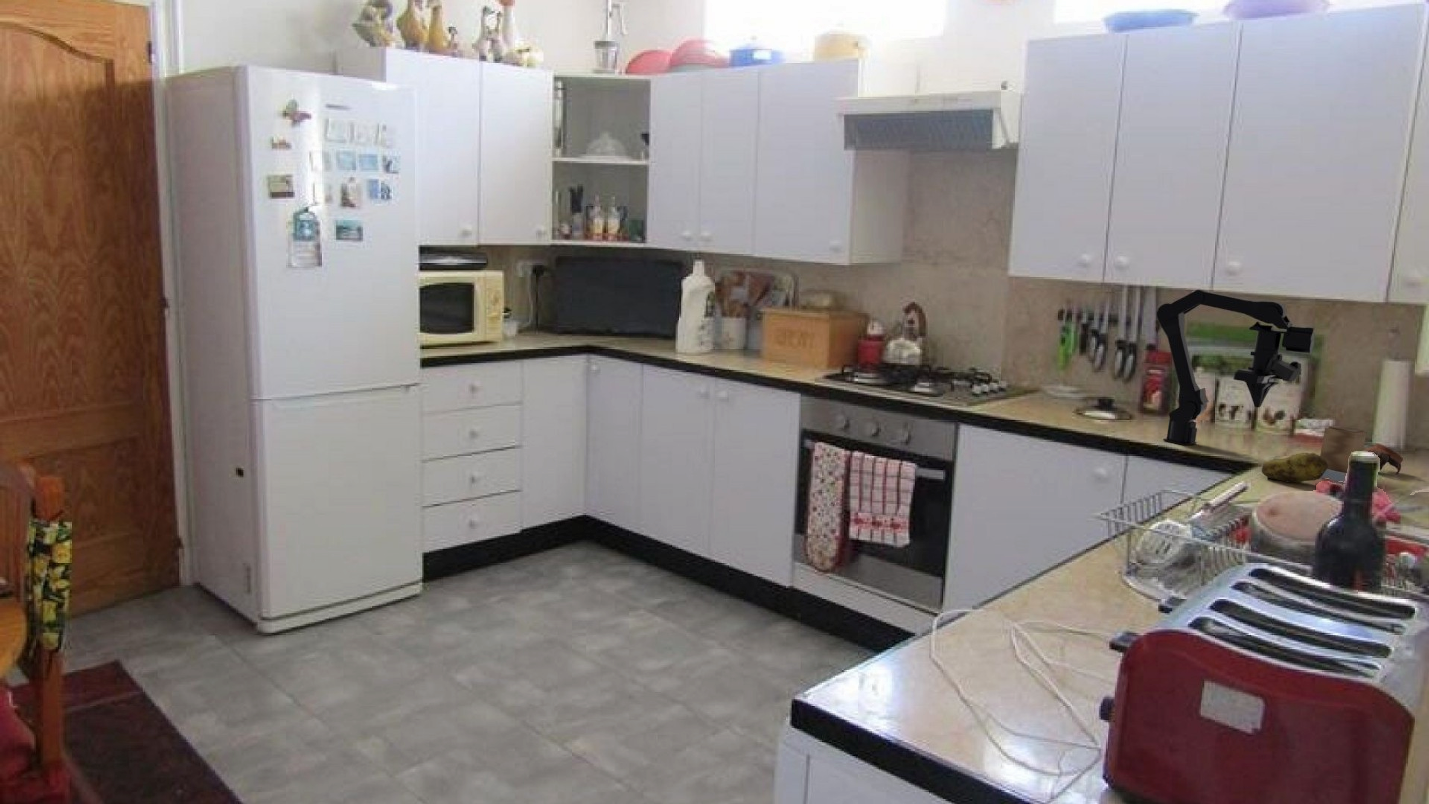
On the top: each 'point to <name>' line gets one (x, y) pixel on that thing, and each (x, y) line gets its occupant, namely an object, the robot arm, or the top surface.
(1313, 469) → the potato
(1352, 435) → the crate
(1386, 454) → the brown irregular pronged part
